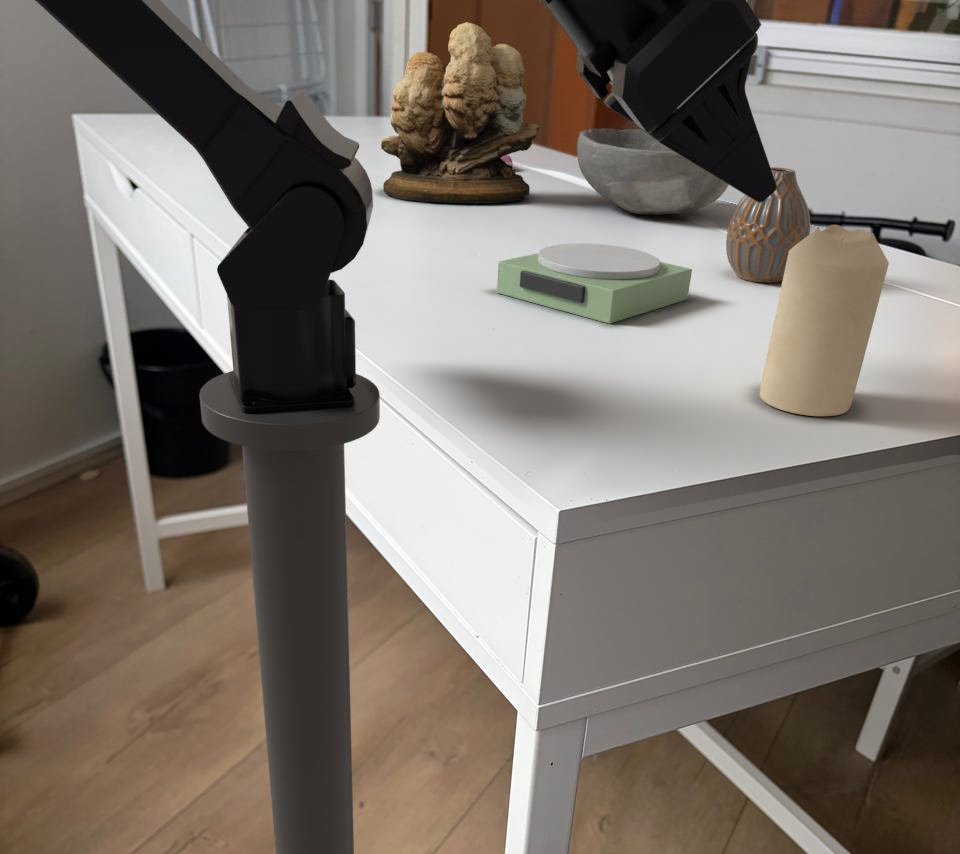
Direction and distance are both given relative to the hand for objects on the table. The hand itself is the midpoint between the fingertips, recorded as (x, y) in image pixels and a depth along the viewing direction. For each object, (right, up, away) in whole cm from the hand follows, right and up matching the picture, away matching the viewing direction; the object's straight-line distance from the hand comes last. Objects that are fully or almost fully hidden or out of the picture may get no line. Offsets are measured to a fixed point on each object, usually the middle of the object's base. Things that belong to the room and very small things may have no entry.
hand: (744, 180), depth 54 cm
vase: (+10, +7, +34) cm, 37 cm away
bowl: (+5, +23, +58) cm, 63 cm away
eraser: (-14, +39, +81) cm, 92 cm away
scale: (-5, +3, +26) cm, 26 cm away
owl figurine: (-17, +26, +61) cm, 69 cm away
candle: (+5, -10, +7) cm, 14 cm away
